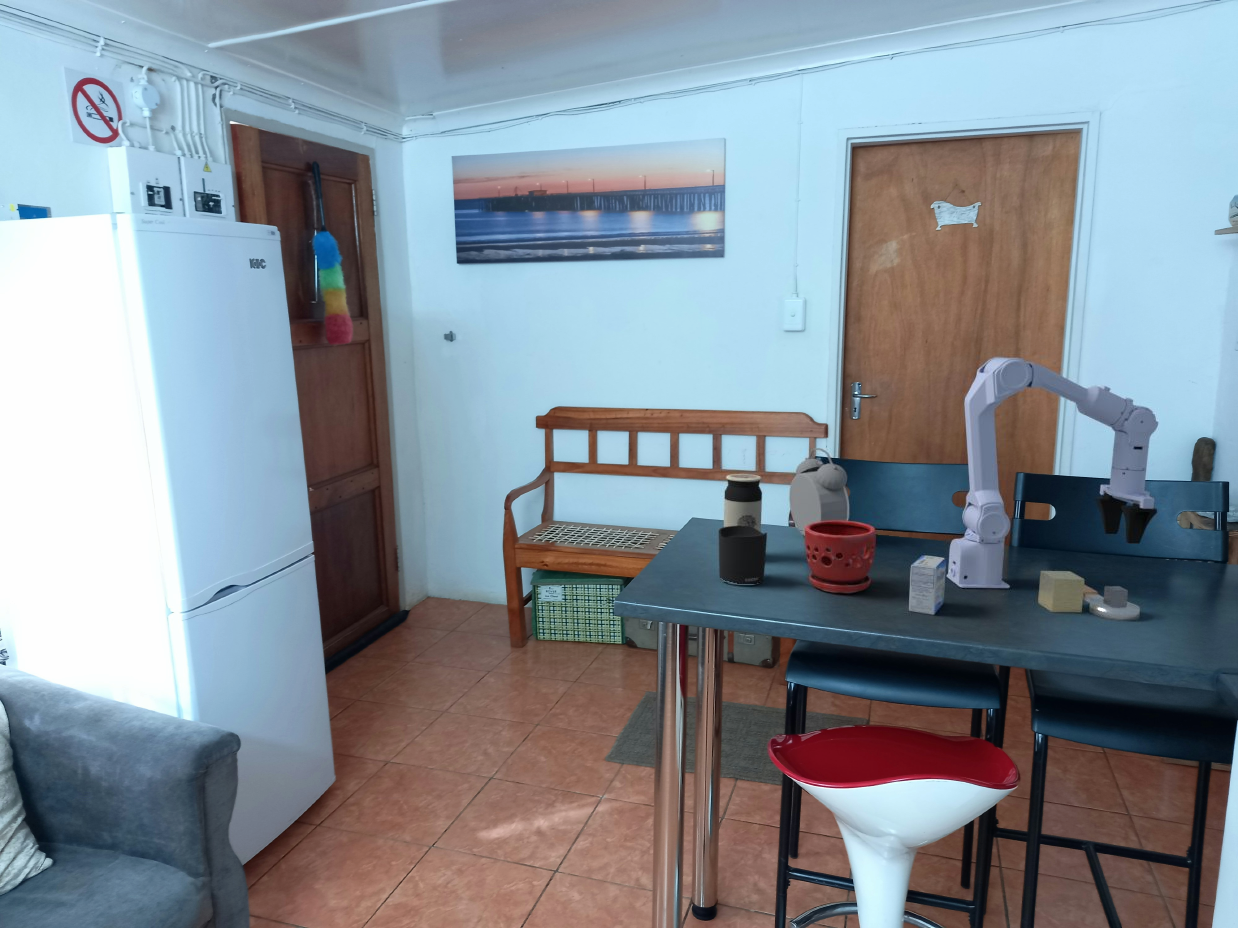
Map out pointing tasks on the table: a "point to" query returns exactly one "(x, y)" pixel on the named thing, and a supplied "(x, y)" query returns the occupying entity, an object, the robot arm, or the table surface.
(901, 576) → the table surface
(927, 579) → the medicine box
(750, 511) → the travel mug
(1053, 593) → the brushed metal cube
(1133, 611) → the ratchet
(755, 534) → the pen holder
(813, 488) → the alarm clock
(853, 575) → the plant pot
